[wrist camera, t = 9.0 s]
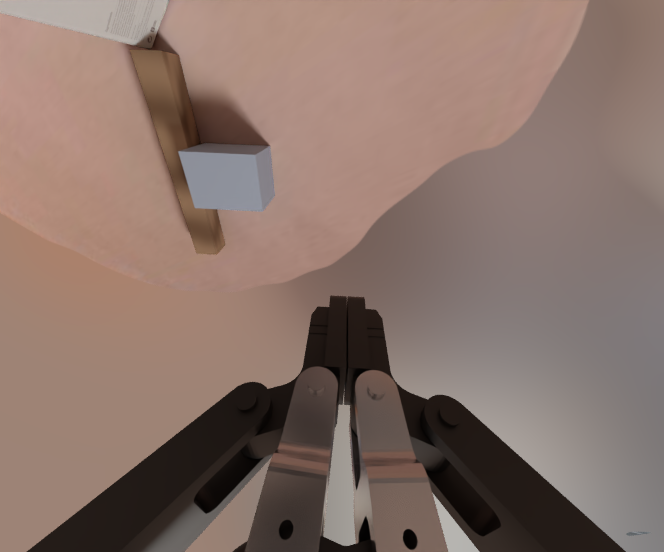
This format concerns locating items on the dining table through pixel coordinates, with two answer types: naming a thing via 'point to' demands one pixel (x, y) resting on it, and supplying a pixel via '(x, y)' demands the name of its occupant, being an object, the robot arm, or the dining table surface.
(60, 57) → the dining table surface
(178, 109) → the board
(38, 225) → the dining table surface
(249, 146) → the block
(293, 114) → the dining table surface
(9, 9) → the skincare box
